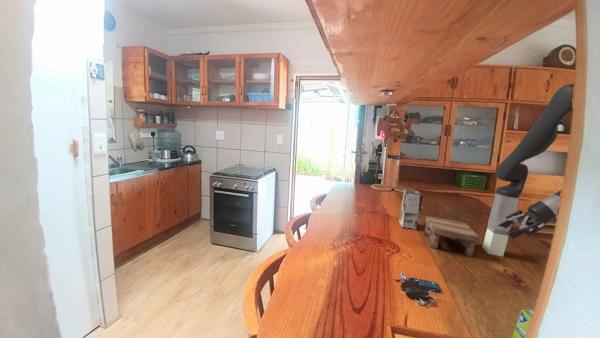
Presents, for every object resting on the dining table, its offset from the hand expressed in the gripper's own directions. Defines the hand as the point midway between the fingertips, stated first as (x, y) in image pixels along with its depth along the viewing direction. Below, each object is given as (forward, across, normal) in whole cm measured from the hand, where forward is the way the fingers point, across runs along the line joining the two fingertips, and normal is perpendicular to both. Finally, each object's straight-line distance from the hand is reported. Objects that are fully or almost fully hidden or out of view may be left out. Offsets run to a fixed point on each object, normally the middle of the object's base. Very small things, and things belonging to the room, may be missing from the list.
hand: (504, 232), depth 100 cm
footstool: (+20, +2, -7) cm, 21 cm away
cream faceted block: (+8, 0, +5) cm, 9 cm away
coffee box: (+29, -12, -16) cm, 36 cm away
